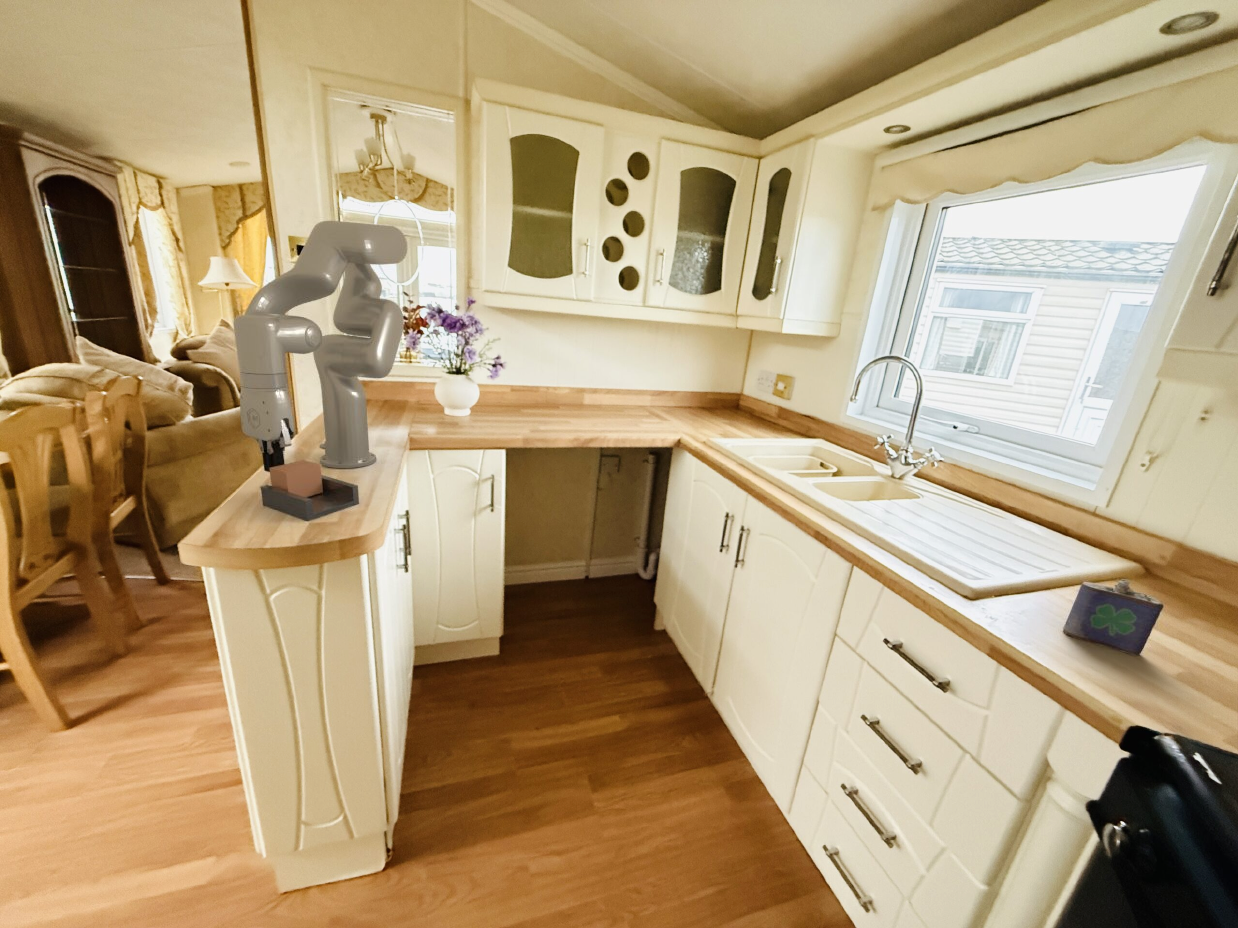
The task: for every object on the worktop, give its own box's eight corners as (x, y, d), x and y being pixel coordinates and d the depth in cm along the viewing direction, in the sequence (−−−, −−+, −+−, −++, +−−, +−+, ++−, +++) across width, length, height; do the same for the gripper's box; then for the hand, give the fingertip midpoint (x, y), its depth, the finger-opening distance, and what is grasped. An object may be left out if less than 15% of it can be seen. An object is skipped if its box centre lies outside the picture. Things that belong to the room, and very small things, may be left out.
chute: (262, 505, 97) (260, 486, 96) (316, 490, 107) (314, 472, 106) (307, 521, 92) (305, 501, 91) (359, 503, 102) (357, 485, 101)
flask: (1064, 635, 78) (1088, 574, 75) (1059, 626, 80) (1083, 567, 77) (1143, 659, 73) (1172, 595, 70) (1136, 648, 76) (1164, 587, 73)
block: (272, 496, 98) (269, 467, 97) (306, 487, 105) (304, 460, 103) (289, 502, 96) (286, 473, 95) (322, 492, 103) (320, 464, 101)
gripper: (220, 377, 96) (232, 467, 101) (269, 388, 90) (279, 482, 96) (260, 375, 103) (270, 459, 108) (308, 384, 97) (316, 473, 102)
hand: (274, 470), depth 102 cm, fingers closed
